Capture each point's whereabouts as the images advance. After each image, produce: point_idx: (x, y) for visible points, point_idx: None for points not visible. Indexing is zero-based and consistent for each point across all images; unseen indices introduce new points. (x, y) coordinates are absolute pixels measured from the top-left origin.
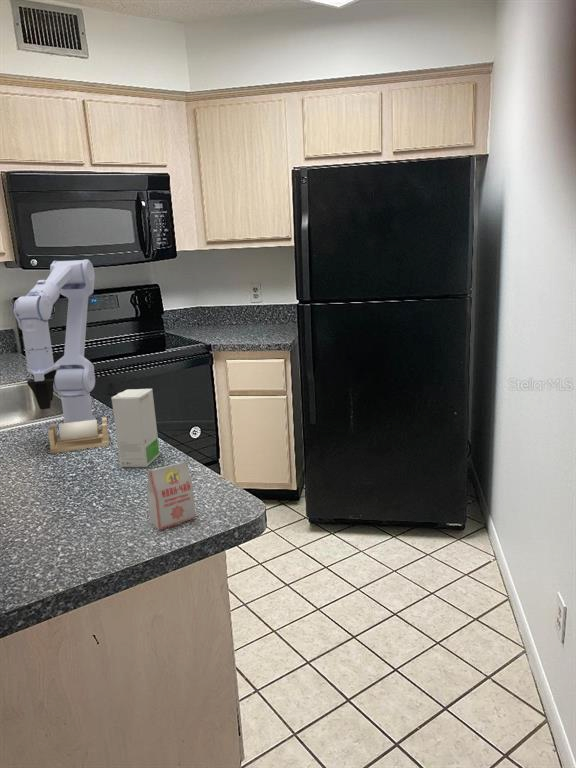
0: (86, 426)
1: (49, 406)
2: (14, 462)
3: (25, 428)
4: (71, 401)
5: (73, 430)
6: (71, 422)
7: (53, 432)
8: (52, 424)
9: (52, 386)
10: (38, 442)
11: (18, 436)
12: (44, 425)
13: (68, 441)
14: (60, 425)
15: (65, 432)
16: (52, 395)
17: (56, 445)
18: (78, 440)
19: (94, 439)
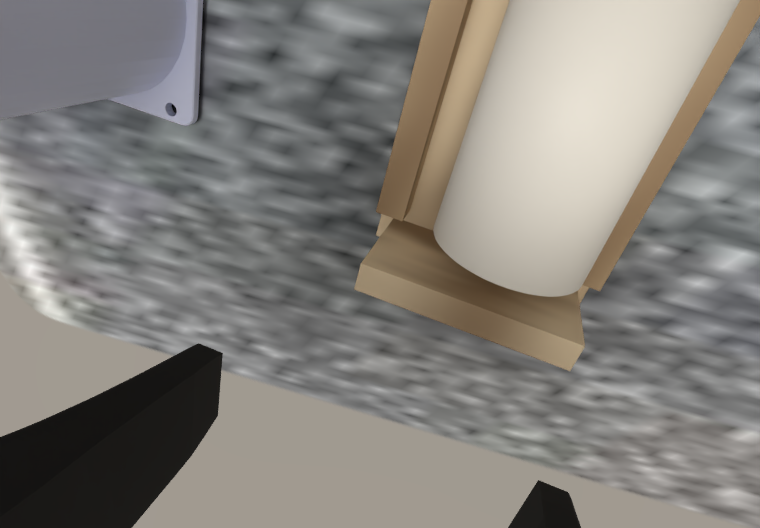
0: (688, 67)
1: (575, 517)
2: (566, 446)
3: (67, 260)
4: (5, 58)
5: (632, 191)
6: (530, 190)
7: (538, 318)
8: (378, 285)
9: (87, 458)
10: (322, 281)
11: (176, 317)
12: (47, 176)
13: (625, 217)
14: (533, 284)
15: (601, 248)
16: (185, 381)
17: None
18: (675, 150)
19: (756, 12)
